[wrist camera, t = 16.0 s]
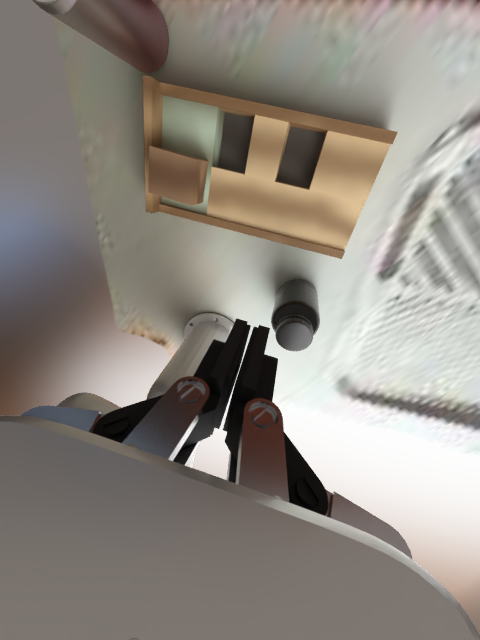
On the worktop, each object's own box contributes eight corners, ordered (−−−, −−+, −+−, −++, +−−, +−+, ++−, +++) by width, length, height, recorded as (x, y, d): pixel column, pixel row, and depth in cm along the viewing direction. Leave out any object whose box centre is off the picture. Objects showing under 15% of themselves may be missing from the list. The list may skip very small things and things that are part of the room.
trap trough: (338, 251, 36) (343, 263, 31) (164, 206, 38) (146, 211, 34) (387, 136, 28) (403, 129, 24) (166, 89, 31) (142, 74, 26)
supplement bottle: (273, 281, 41) (264, 316, 31) (316, 275, 39) (320, 311, 29) (279, 316, 44) (272, 358, 34) (318, 313, 42) (323, 356, 32)
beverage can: (116, 37, 29) (-24, -64, 17) (145, -16, 26) (2, -185, 14) (150, 88, 31) (47, 30, 19) (181, 43, 28) (83, -60, 16)
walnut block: (202, 202, 34) (191, 205, 31) (163, 190, 34) (148, 192, 31) (208, 161, 31) (197, 159, 28) (165, 148, 31) (149, 145, 28)
